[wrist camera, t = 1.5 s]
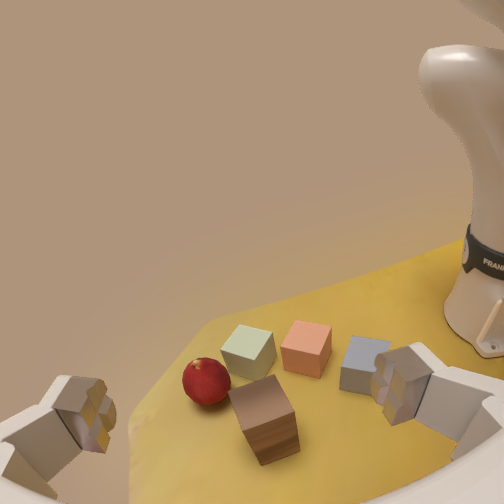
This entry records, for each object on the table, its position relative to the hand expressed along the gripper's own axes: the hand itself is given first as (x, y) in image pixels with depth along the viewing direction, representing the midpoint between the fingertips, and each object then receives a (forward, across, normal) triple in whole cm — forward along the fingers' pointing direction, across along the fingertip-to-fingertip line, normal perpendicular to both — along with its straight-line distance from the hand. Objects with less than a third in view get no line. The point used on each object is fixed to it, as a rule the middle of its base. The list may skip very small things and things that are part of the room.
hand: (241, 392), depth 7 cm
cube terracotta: (+25, -9, +18) cm, 32 cm away
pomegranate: (+22, +4, +21) cm, 31 cm away
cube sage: (+26, -2, +19) cm, 33 cm away
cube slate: (+19, -15, +19) cm, 31 cm away
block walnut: (+14, -3, +22) cm, 26 cm away
